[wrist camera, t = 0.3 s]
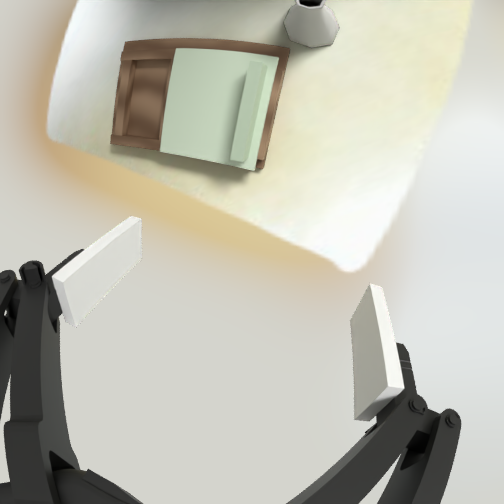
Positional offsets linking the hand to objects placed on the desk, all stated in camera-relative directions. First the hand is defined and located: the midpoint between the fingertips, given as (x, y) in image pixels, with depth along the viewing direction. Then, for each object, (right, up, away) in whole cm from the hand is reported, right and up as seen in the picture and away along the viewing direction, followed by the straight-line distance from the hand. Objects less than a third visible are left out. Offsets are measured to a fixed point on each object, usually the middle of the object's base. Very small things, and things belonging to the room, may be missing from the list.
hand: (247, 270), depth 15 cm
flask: (+8, +30, +11) cm, 33 cm away
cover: (-4, +20, +17) cm, 26 cm away
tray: (-8, +23, +19) cm, 31 cm away
